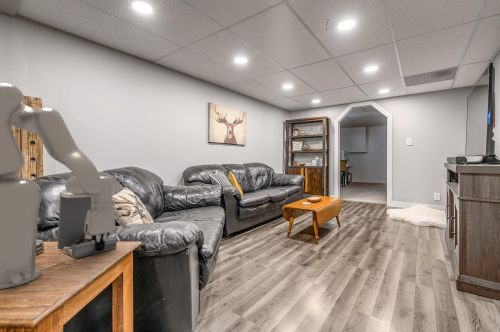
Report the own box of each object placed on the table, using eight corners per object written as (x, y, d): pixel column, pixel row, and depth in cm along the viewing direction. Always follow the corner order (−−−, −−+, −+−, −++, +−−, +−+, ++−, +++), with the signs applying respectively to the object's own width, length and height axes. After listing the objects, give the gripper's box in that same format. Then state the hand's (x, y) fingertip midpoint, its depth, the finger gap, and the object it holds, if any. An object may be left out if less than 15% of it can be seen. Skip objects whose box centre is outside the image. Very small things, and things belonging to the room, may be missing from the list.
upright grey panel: (106, 245, 105) (108, 192, 106) (66, 254, 92) (69, 194, 93) (95, 241, 110) (97, 191, 111) (57, 249, 97) (60, 193, 98)
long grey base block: (116, 248, 100) (116, 238, 100) (76, 258, 87) (76, 247, 87) (102, 243, 107) (102, 234, 107) (63, 252, 94) (63, 241, 94)
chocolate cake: (84, 255, 93) (101, 230, 102) (66, 251, 92) (84, 225, 101) (87, 264, 100) (102, 239, 109) (70, 260, 98) (87, 236, 107)
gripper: (115, 203, 102) (114, 244, 101) (76, 207, 89) (74, 253, 89) (124, 204, 98) (122, 247, 97) (84, 208, 85) (82, 258, 85)
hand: (99, 250), depth 93 cm, fingers closed
